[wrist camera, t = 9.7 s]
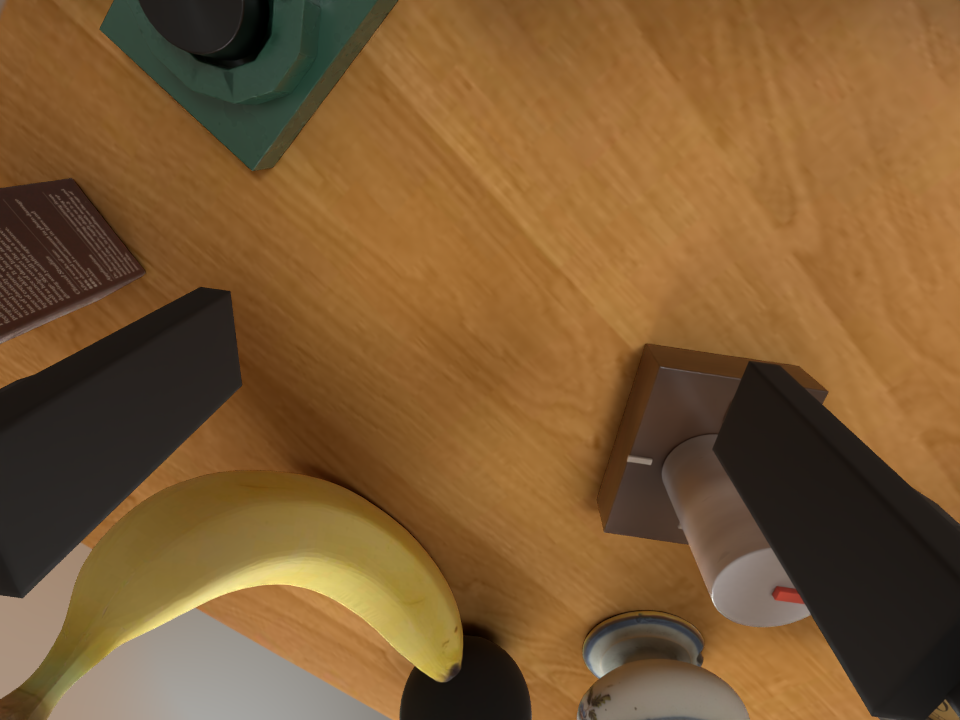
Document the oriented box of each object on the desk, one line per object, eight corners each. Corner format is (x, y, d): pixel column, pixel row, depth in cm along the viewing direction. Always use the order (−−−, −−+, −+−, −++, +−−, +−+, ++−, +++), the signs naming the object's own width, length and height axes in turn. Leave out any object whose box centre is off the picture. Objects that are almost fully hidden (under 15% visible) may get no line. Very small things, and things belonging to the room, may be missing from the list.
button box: (249, -175, 19) (188, -243, 16) (399, -1, 21) (375, -26, 18) (134, 37, 23) (63, 21, 19) (273, 167, 25) (232, 175, 21)
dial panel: (644, 342, 28) (658, 367, 25) (801, 366, 28) (833, 393, 25) (594, 499, 33) (602, 534, 30) (726, 518, 33) (746, 555, 30)
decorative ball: (543, 674, 42) (551, 822, 33) (438, 688, 44) (418, 832, 35) (509, 599, 38) (507, 745, 29) (395, 618, 40) (361, 760, 31)
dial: (651, 496, 29) (698, 625, 21) (676, 428, 27) (738, 545, 19) (733, 507, 29) (810, 641, 21) (765, 440, 27) (863, 562, 19)
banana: (492, 576, 37) (470, 997, 19) (440, 607, 39) (377, 1015, 21) (251, 386, 31) (-114, 748, 13) (204, 436, 33) (-167, 807, 15)
